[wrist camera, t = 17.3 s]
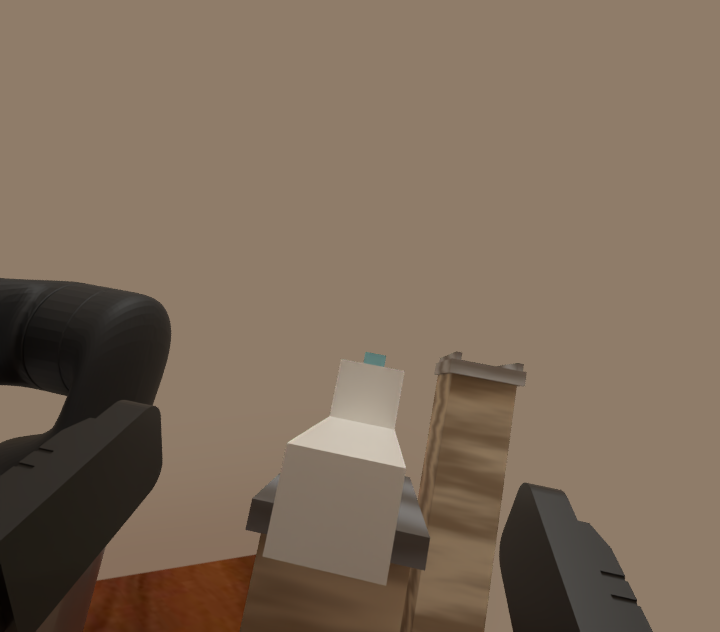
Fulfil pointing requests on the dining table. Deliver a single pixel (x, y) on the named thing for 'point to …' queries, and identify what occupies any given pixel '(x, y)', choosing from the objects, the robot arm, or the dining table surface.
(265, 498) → the lower stand
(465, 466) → the stand
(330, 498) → the breaker module
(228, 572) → the dining table surface
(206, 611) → the dining table surface
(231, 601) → the dining table surface
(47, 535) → the robot arm
